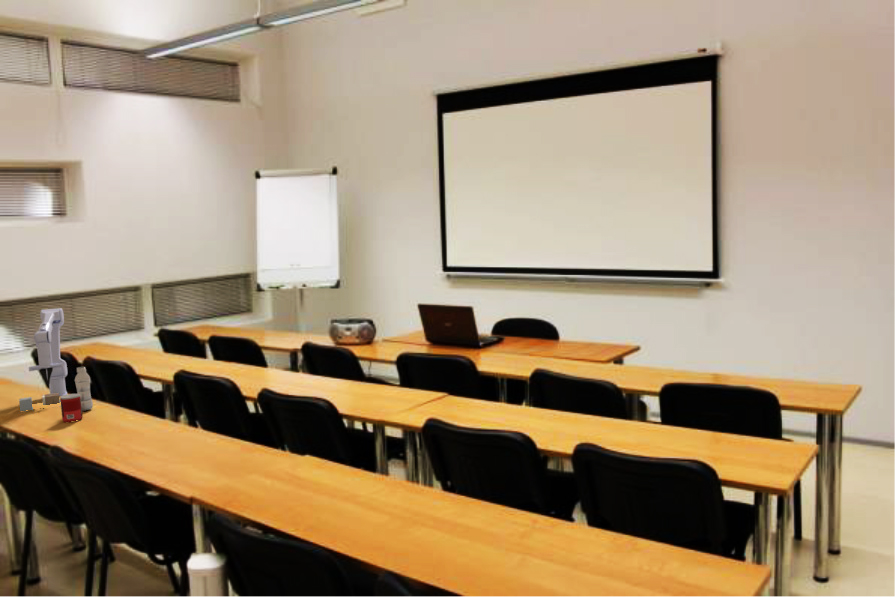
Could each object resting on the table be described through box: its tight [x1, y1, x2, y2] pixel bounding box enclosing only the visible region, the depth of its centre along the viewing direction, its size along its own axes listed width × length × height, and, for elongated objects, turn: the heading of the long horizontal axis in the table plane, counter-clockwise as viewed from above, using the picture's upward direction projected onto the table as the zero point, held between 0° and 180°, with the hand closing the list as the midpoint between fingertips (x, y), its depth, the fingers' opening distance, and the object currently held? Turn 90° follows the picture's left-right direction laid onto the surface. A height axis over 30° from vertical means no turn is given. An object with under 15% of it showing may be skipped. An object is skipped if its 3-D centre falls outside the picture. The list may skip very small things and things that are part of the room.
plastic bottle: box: [74, 366, 94, 412], centre depth 349 cm, size 6×7×20 cm
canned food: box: [59, 393, 83, 423], centre depth 333 cm, size 8×8×11 cm
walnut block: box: [41, 393, 60, 405], centre depth 367 cm, size 6×4×7 cm
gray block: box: [18, 396, 34, 412], centre depth 356 cm, size 5×5×5 cm
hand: (48, 383), depth 366 cm, fingers closed
